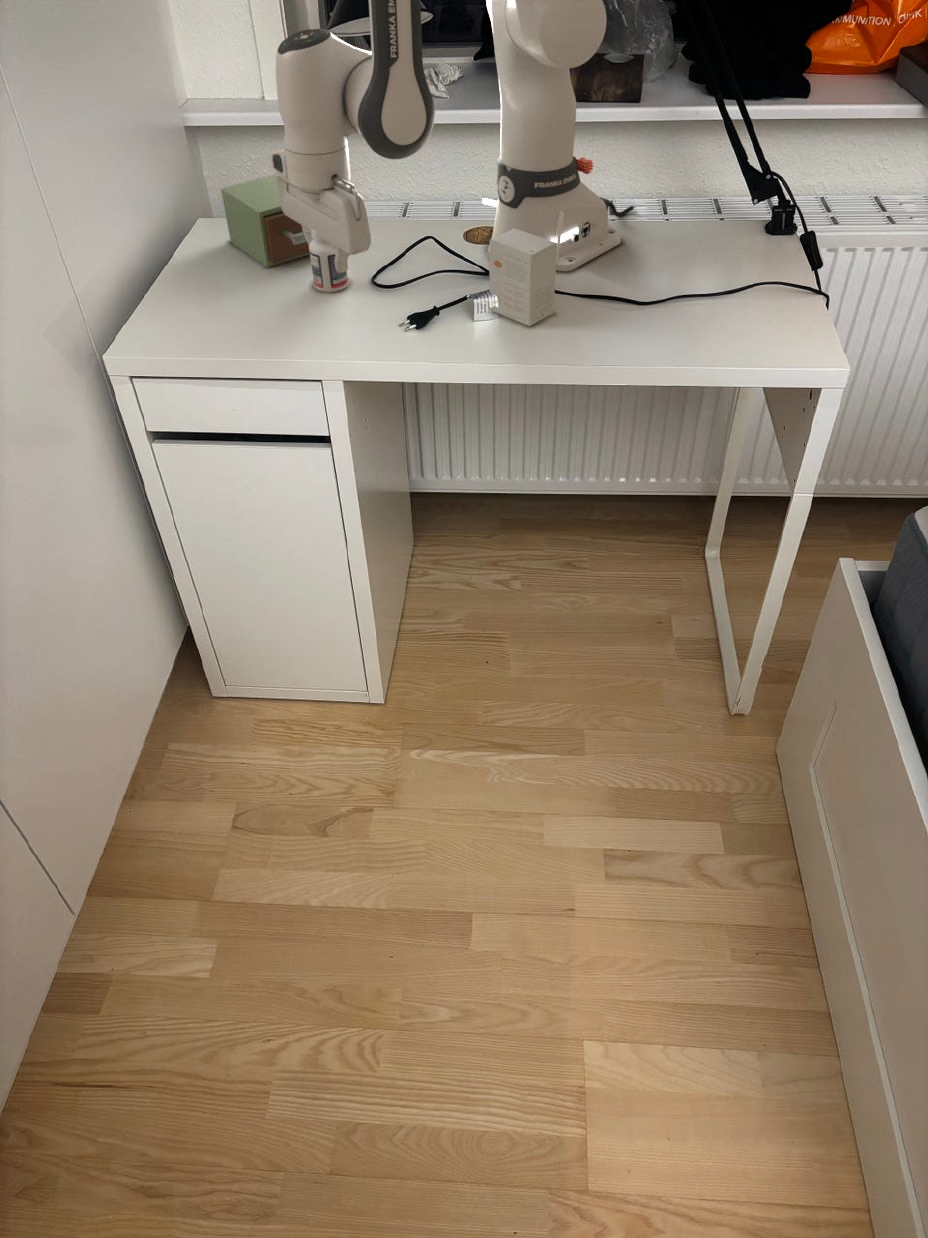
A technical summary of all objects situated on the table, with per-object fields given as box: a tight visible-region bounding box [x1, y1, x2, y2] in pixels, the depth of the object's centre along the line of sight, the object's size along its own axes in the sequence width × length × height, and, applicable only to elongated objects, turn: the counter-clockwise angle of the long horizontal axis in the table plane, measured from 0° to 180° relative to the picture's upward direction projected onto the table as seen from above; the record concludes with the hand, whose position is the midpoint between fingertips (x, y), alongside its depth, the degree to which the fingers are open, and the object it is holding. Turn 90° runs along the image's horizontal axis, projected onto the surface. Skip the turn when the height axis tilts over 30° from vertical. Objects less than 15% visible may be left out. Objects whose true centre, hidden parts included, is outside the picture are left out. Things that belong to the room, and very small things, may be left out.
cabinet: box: [220, 174, 310, 268], centre depth 149 cm, size 13×12×9 cm
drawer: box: [263, 211, 310, 263], centre depth 147 cm, size 16×10×7 cm, turn 38°
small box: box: [488, 229, 557, 327], centre depth 131 cm, size 8×6×10 cm
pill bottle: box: [309, 229, 349, 293], centre depth 138 cm, size 5×5×9 cm
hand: (328, 262), depth 139 cm, fingers closed on pill bottle, 5 cm apart
